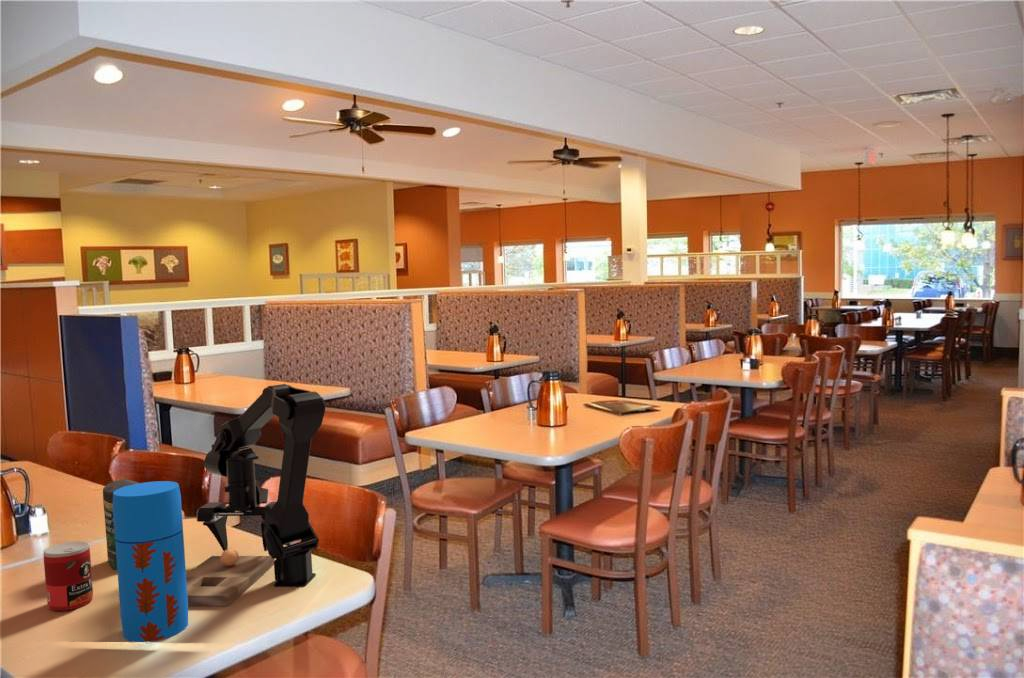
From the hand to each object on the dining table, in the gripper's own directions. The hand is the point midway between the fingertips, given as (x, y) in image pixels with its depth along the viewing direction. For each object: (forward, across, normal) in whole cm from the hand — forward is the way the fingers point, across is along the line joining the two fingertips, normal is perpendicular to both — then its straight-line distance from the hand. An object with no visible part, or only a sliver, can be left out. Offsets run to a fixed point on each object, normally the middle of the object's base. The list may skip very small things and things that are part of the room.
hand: (245, 550), depth 174 cm
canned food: (+3, +25, +23) cm, 34 cm away
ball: (-1, 0, +7) cm, 7 cm away
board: (+3, 0, +12) cm, 13 cm away
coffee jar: (+3, +26, +2) cm, 26 cm away
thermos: (+3, +1, +33) cm, 34 cm away
